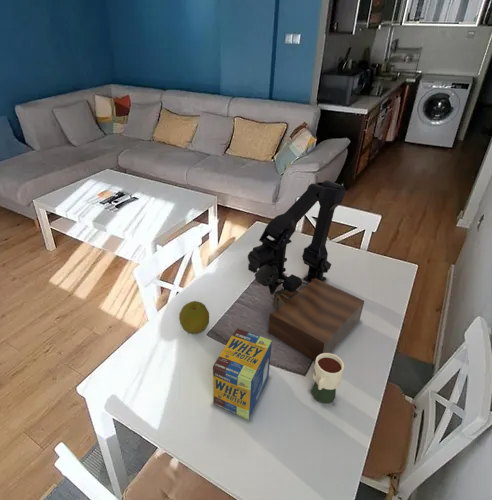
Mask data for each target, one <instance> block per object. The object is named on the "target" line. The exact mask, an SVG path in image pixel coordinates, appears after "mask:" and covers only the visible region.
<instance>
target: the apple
mask: <svg viewBox="0 0 492 500" xmlns="http://www.w3.org/2000/svg"><path fill="white" fill-rule="evenodd" d="M178 319H179V324H180V326H181V327H182V329H183V330H184V331H185V332H186V333H188V334H191V335H198V334H202V332H204V331H205V330H206V328H208V326H209V324H210V311H209V310H208V308H207V306H206V304H203V302H201V301H197V300H194V301H190V302H188V303H186V304H185V305H183V306H182V308H181V310H180V312H179V317H178Z"/></svg>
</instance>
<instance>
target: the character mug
mask: <svg viewBox="0 0 492 500" xmlns="http://www.w3.org/2000/svg"><path fill="white" fill-rule="evenodd" d="M344 370H345V364H344V361H343V360H342V359H341V357H339V356H338V355H337V354H334V353H332V352H331V353H323V354H320V355H318V356H317V358H316V361H314V367H313V372H312V378H313V381H314V383H313V385H312V388H311V391H310V392H311V396H312V398H313V399H314V400H315V401H317V402H319V403H322V404H331V403H333V402H334V401H335V400H336V395H337V389H338V388H339V386H340V385H341V383H342V379H343V375H344Z"/></svg>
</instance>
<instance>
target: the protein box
mask: <svg viewBox="0 0 492 500" xmlns="http://www.w3.org/2000/svg"><path fill="white" fill-rule="evenodd" d="M272 345H273V340H272V339H269V338H267V337H264V336H261V335H258V334H255V333H253V332H250V331H247V330H244V329H241V328H239V327H236V329H235V330H234V332H233V334H232V335H231V336H230V338H229V339H228V341H227V343H226V345H225V346H224V348H223V349H222V351H221V352H220V354H219V356H218V357H217V358H216V361H214V364H213V365H212V394H213V405H214V406H217V407H219V408H220V409H223V410H226V411H228V412H230V413H231V414H234V415H236V416H238V417H241V418H243V419H245V420H250V418H251V415H252V413H253V412H254V409H255V407H256V405H257V403H258V401H259V398H260V397H261V395H262V394H263V393H262V392H263V391H264V388H265V386H266V384H267V382H268V380H269V375H270V364H271V354H272Z"/></svg>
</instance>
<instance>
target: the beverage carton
mask: <svg viewBox="0 0 492 500" xmlns="http://www.w3.org/2000/svg"><path fill="white" fill-rule="evenodd" d="M298 292H299V290H297V289H296V290H295V291H294V292H289V291H287V290H285V289H284V288H281V289H279V290H275V292H274V293H273V306H274V307H276V309H277V310H278V309H279V308H281V307H282V306H283V305H284V304H285V303H287V302H288V301H289V300H290V299H291V298H292V297H294V296H295V295H296V294H297V293H298Z"/></svg>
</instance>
